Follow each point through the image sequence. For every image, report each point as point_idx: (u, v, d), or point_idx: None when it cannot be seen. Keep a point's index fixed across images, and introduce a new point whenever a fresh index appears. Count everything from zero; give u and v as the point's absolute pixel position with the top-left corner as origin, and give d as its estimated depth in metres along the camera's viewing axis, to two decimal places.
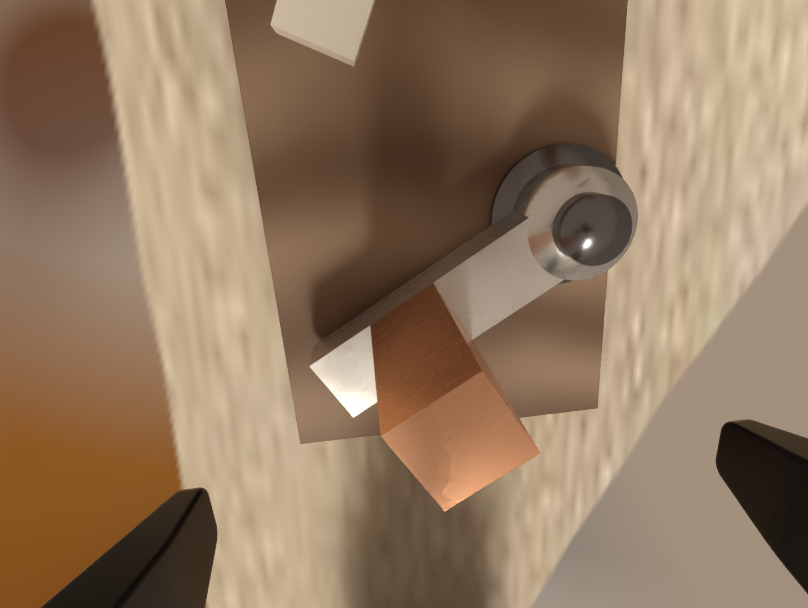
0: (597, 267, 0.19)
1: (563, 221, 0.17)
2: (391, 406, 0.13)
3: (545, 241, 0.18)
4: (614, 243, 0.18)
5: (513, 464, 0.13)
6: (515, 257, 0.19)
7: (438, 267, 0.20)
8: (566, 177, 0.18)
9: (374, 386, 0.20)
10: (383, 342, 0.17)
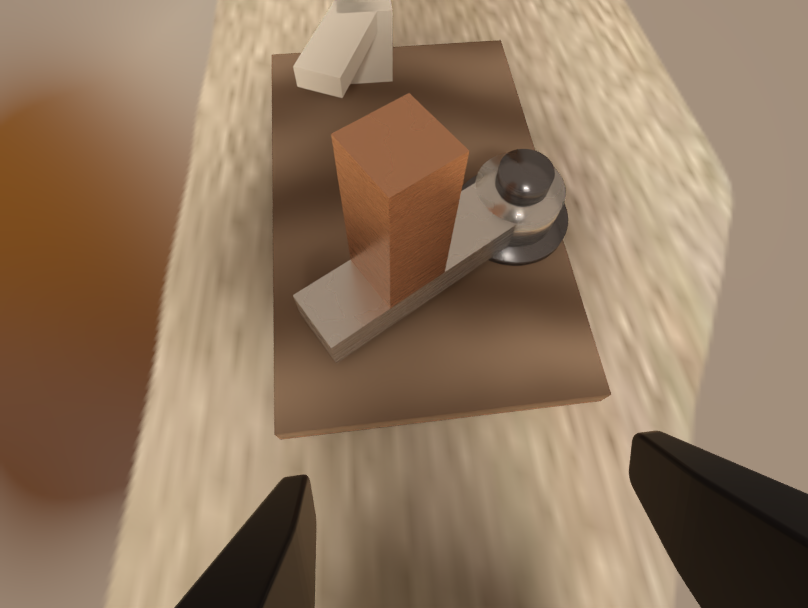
0: (543, 215, 0.23)
1: (498, 167, 0.22)
2: None
3: (493, 197, 0.23)
4: (543, 177, 0.22)
5: (447, 159, 0.14)
6: (470, 208, 0.23)
7: None
8: (498, 158, 0.24)
9: (352, 315, 0.20)
10: None
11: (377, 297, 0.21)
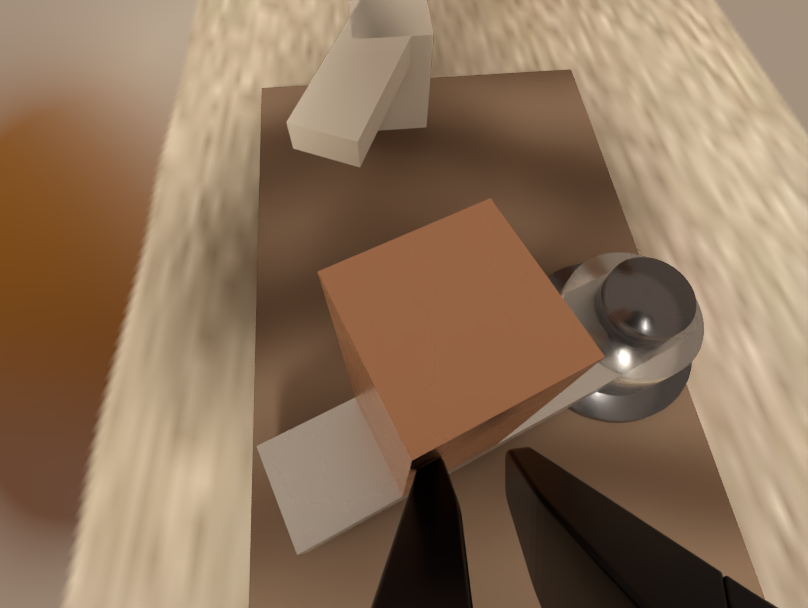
0: (665, 366, 0.14)
1: (604, 288, 0.14)
2: None
3: (588, 323, 0.15)
4: (678, 309, 0.14)
5: (555, 371, 0.06)
6: None
7: None
8: (602, 260, 0.16)
9: (341, 499, 0.13)
10: None
11: (386, 472, 0.13)
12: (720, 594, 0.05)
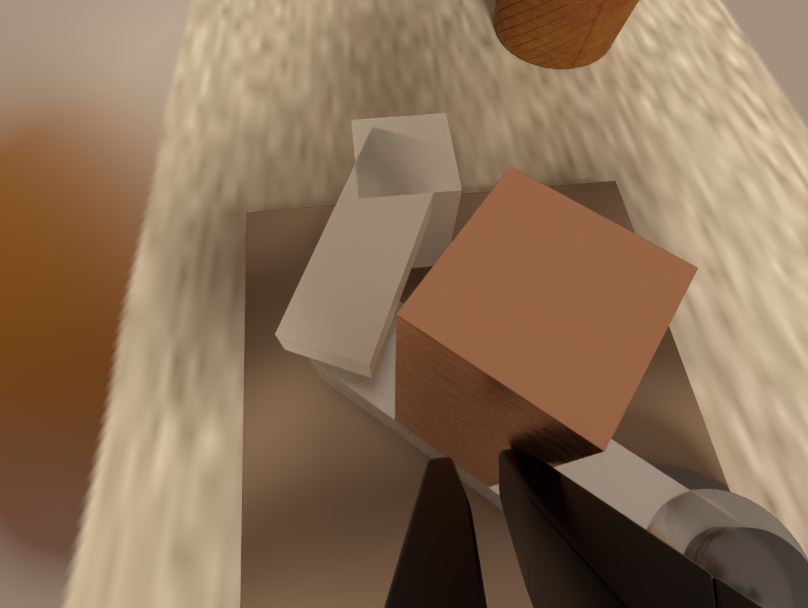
0: None
1: None
2: None
3: (677, 534, 0.12)
4: None
5: (554, 405, 0.06)
6: (632, 497, 0.12)
7: None
8: (767, 520, 0.12)
9: None
10: None
11: None
12: (709, 596, 0.05)
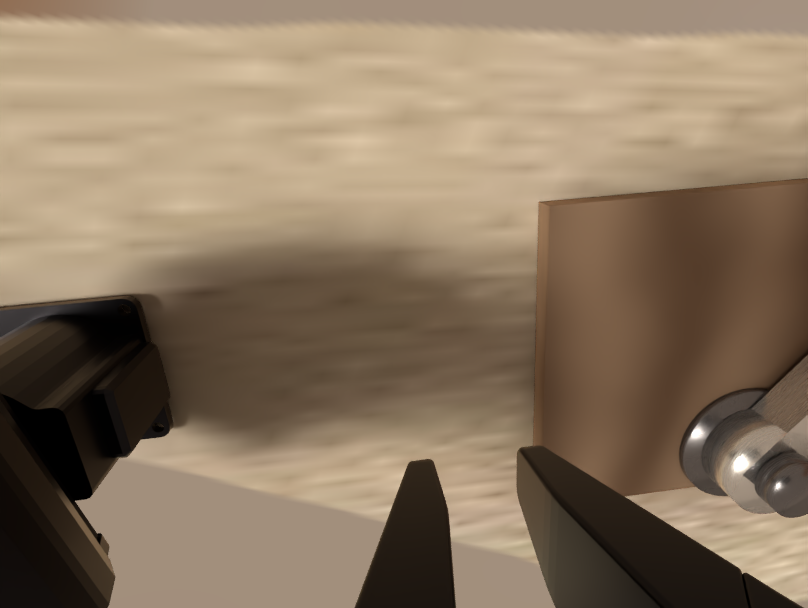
0: (758, 450, 0.21)
1: None
2: None
3: None
4: (787, 507, 0.21)
5: None
6: None
7: None
8: None
9: None
10: None
11: None
12: (740, 591, 0.05)
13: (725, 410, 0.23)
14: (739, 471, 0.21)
